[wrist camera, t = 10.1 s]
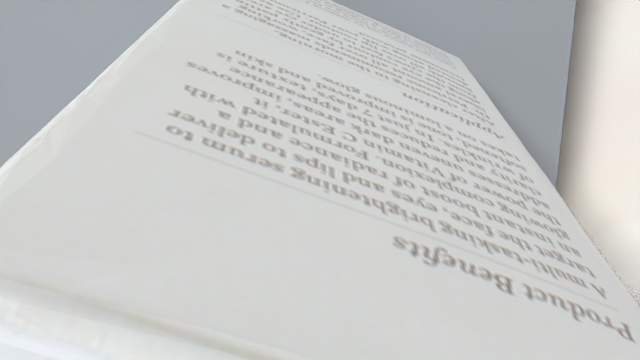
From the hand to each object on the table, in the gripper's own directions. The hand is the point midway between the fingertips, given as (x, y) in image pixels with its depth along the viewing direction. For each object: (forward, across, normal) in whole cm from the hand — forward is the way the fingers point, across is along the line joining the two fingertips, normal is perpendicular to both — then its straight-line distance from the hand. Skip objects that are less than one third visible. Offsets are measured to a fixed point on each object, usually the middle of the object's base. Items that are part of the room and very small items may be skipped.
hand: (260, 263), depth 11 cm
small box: (+4, 0, 0) cm, 4 cm away
